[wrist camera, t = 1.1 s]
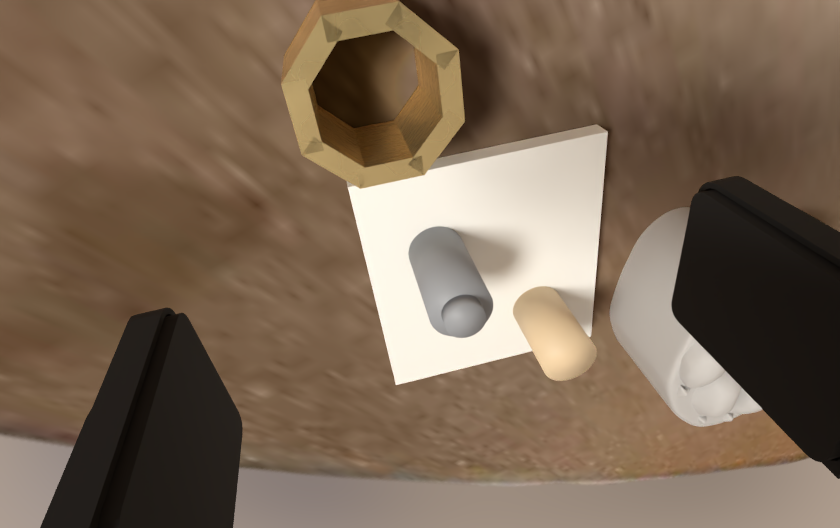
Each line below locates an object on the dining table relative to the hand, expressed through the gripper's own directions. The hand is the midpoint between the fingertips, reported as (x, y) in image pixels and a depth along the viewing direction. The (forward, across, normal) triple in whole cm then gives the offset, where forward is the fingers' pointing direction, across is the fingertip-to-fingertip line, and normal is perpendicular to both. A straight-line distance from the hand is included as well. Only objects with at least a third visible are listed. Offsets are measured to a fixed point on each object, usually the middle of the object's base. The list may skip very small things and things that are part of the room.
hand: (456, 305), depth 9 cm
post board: (+18, -5, +12) cm, 22 cm away
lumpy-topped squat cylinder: (+18, -20, +19) cm, 32 cm away
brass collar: (+18, 0, 0) cm, 18 cm away
